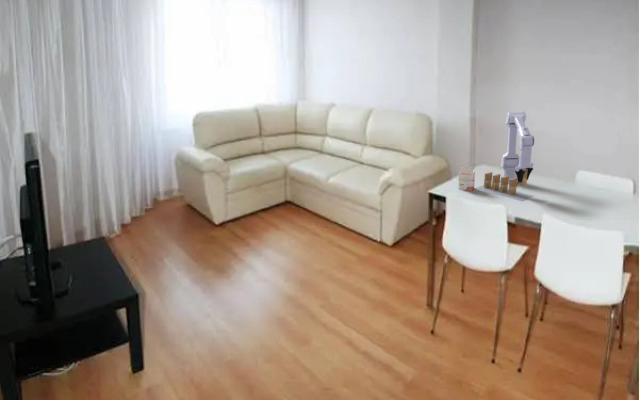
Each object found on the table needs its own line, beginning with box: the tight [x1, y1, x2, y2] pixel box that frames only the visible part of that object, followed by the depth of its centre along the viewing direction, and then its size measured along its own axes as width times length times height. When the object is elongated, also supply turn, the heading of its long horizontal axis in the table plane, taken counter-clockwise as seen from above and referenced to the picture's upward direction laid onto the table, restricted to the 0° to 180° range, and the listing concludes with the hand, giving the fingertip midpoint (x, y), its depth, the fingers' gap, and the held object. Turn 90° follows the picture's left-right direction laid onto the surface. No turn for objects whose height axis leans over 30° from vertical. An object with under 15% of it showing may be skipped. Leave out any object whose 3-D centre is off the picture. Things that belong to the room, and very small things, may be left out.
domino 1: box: [483, 171, 493, 188], centre depth 286 cm, size 2×5×9 cm, turn 126°
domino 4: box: [508, 178, 518, 195], centre depth 273 cm, size 2×5×9 cm, turn 125°
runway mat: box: [475, 184, 535, 202], centre depth 278 cm, size 12×31×1 cm, turn 35°
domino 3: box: [499, 176, 509, 193], centre depth 277 cm, size 2×5×9 cm, turn 126°
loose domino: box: [518, 169, 528, 187], centre depth 266 cm, size 2×5×9 cm, turn 126°
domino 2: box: [492, 173, 501, 191], centre depth 281 cm, size 2×5×9 cm, turn 126°
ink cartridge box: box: [457, 166, 476, 192], centre depth 284 cm, size 9×5×15 cm, turn 62°
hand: (522, 181), depth 267 cm, fingers closed on loose domino, 5 cm apart
